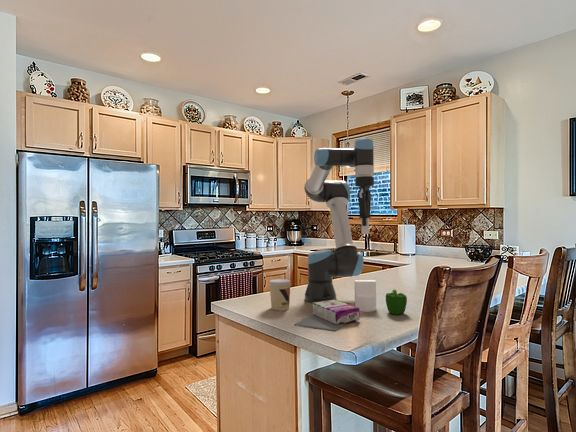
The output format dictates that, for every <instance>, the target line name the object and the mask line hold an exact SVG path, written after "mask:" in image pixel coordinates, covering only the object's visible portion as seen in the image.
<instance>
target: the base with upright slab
mask: <svg viewBox="0 0 576 432" xmlns="http://www.w3.org/2000/svg"><path fill="white" fill-rule="evenodd" d="M354 306H355V307H358V308H359V312H367V313H368V312H375V311H377V280H375V279H367V280H365V279H364V280H363V279H360V280H357V279H354Z"/></svg>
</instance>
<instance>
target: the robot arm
mask: <svg viewBox="0 0 576 432" xmlns="http://www.w3.org/2000/svg"><path fill="white" fill-rule="evenodd" d="M353 146H354V147H353V148H333V147H332V148H331V147H330V148H329V147H328V148H327V147H320V148H316V149H315V151H314V155H313V162H314V167H313V170H312V172H311V173H310V174H311V175H310V177H309V178H307V180H306V181H305V184H304V186H303V188H304V192H305V194H306V196H307V197H308V198H309V199H310V200H311V201H313V202H318V203H326V207H327V208H329V212H330V217H331V224H332V229H333V235H334V243H335V248H334V250H333V251H332V249H322V250H316V251H315V250H314V251H312V252H310V253H309V254H308V255H307V263H306V264H307V286H306V289H305V292H304V300H305V301H306V302H309V303H314V302H321V301H327V300H334V299H335V300H337V293H336V290H335V287H334V285H333V278H344V277H348V278H352V277H358V276H360V275H361V273H362V272H363V269H364V254H363V253H362V252H361V251H358V247H357V246H356V245H354V242H353V237H352V230H351V226H350V221H349V220H350V219H349V215H348V209H347V205H348V203H349V202H350V199H351V188H350V185H349V183H348V182H347V181H345V180H339V179H338V180H327V178H328V176H329V174H330V172H331V171H332V169H333V167H338V166H339V167H350V168H355V169H354V170H353V171H354V173H355V177H354V178H355V179H354V181H355V182H354V186H355V187H357V188H359V191H358V192H357V199H358V211H359V217H358V218H359V219H361V221H360V222H361V235H369V234H370V220H369V219H371V218H372V216H371V208H372V207H371V206H372V205H371V203H372V194H371V190H370V187H374V185H375V178H374V177H373V176H374V175H375V166H374V159H375V158H374V140H373V139H371V138H369V137H368V138H367V137H363V138H357V139H356V140H355V141H354V145H353Z"/></svg>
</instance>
